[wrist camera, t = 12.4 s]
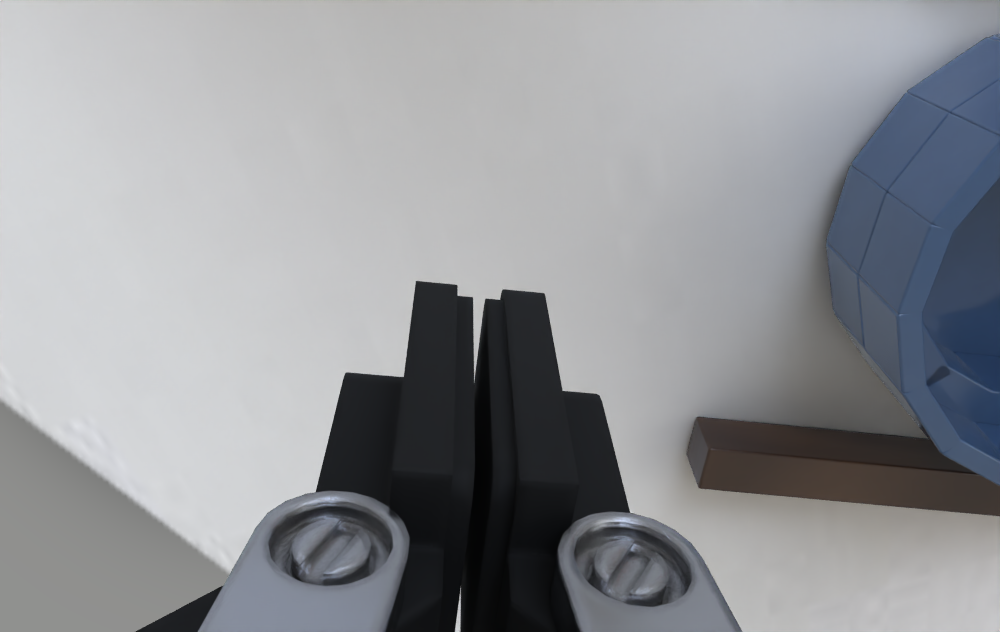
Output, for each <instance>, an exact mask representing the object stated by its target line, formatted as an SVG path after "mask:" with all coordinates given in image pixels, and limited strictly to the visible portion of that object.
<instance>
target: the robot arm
mask: <svg viewBox="0 0 1000 632" xmlns="http://www.w3.org/2000/svg"><path fill="white" fill-rule="evenodd" d="M460 588H461V632H742V630H741V628H740V626H739V625H738V623H737V621H736V619H735V617H734V615H733V614H732V612H731V610H730V608H729V606H728V604H727V602H726V601H725V599H724V597H723V595H722V593H721V591H720V589H719V588H718V586H717V584H716V582H715V580H714V578H713V577H712V575H711V573H710V571H709V569H708V567H707V565H706V564H705V562H704V560H703V558H702V557H701V556H700V554H699V553H698V552H697V550H696V549H695V548H694V546H693V545H692V544H691V543H690V542H689V541H688V540H687V539H685V538H684V537H683V536H682V535H680V534H679V533H678V532H677V531H675V530H674V529H672V528H670V527H668V526H666V525H664V524H662V523H660V522H658V521H656V520H654V519H651V518H648V517H644V516H641V515H637V514H634V513H630V511H629V507H628V503H627V499H626V495H625V491H624V487H623V483H622V479H621V475H620V471H619V467H618V463H617V459H616V455H615V451H614V447H613V443H612V439H611V435H610V432H609V428H608V424H607V420H606V416H605V412H604V408H603V404H602V401H601V398H600V396H599V395H597V394H591V393H580V392H568V391H562V386H561V380H560V375H559V369H558V364H557V358H556V353H555V347H554V342H553V336H552V331H551V325H550V320H549V314H548V309H547V303H546V298H545V294H544V293H536V292H525V291H515V290H504V289H503V290H502V293H501V298H500V300H494V299H486V300H485V304H484V311H483V318H482V326H481V334H480V342H479V350H478V358H477V366H476V374H475V382H474V343H473V297H463V296H457V285H452V284H441V283H431V282H421V281H416V285H415V293H414V301H413V309H412V317H411V325H410V333H409V341H408V349H407V357H406V365H405V373H404V377H394V376H382V375H371V374H359V373H345V376H344V379H343V383H342V387H341V391H340V395H339V399H338V403H337V407H336V411H335V415H334V420H333V424H332V428H331V432H330V436H329V440H328V444H327V448H326V452H325V456H324V460H323V465H322V469H321V473H320V477H319V481H318V485H317V489H316V492H315V493H308V494H304V495H302V496H299V497H296V498H293V499H290V500H287V501H285V502H284V503H282V504H281V505H279V506H277V507H276V508H274V509H273V510H271V511H270V512H268V513H267V515H266V516H265V517H264V518H263V519H262V521H261V522H260V523H259V524H258V525H257V527H256V528H255V530H254V532H253V534H252V535H251V537H250V539H249V541H248V543H247V544H246V546H245V548H244V550H243V551H242V553H241V555H240V557H239V559H238V560H237V562H236V564H235V566H234V568H233V569H232V571H231V573H230V575H229V577H228V578H227V580H226V582H225V584H224V585H223V586H221V587H219V588H217V589H216V590H214V591H212V592H210V593H208V594H206V595H204V596H202V597H200V598H198V599H197V600H195V601H193V602H191V603H189V604H187V605H185V606H183V607H181V608H180V609H178V610H176V611H174V612H172V613H170V614H168V615H166V616H164V617H162V618H161V619H159V620H157V621H155V622H153V623H151V624H149V625H147V626H146V627H143V628H142V629H140V630H138V631H136V632H455V625H456V618H457V610H458V603H459V595H460Z"/></svg>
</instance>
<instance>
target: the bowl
mask: <svg viewBox="0 0 1000 632" xmlns="http://www.w3.org/2000/svg"><path fill="white" fill-rule="evenodd" d="M826 241H827V244H826V248H827V257H828V267H829V276H830V286H831V295H832V304H833V310H834V313H835V315H836V317H837V318H838V320H839V321H840V323H841V324H842V326H843V327H844V329H845V331H846V332H847V334H848V335H849V337H850V338H851V340H852V341H853V343H854V344H855V346H856V347H857V349H858V350H859V352H860V353H861V355H862V356H863V358H864V359H865V361H866V362H867V364H868V365H869V366H870V367H871V369H872V370H873V371H874V372H875V374H876V375H877V376H878V377H879V378H880V380H881V381H882V382H883V383H884V385H885V386H886V387H887V388H888V389H889V391H890V392H891V393H892V394H893V396H894V397H895V398H896V399H897V401H898V402H899V403H900V404H901V405H902V407H903V408H904V409H905V410H906V412H907V413H908V414H909V415H910V417H911V418H912V419H913V420H914V421H915V423H916V424H917V425H918V426H919V428H920V429H921V430H922V431H923V432H924V434H925V435H926V436H927V437H928V439H929V440H930V441H931V442H932V444H933V445H934V446H935V447H936V448H937V450H938V451H939V452H941V453H942V455H944V456H946V457H947V458H949V459H951V460H953V461H955V462H957V463H958V464H960V465H962V466H964V467H966V468H968V469H969V470H971V471H973V472H975V473H977V474H979V475H980V476H982V477H984V478H986V479H988V480H990V481H991V482H993V483H995V484H997V485H999V486H1000V34H997V35H993V36H991V37H989V38H988V37H987V38H985V39H983V40H982V41H980V42H979V43H977V44H976V45H974V46H973V47H971V48H970V49H968V50H967V51H965V52H964V53H962V54H961V55H959V56H958V57H956V58H955V59H954V60H952V61H951V62H949V63H948V64H946V65H945V66H943V67H942V68H940V69H939V70H937V71H936V72H934V73H933V74H931V75H930V76H928V77H927V78H925V79H924V80H922V81H921V82H919V83H918V84H917V85H915V86H914V87H912V88H911V89H909V90H908V91H907V93H905V94H904V96H903V97H902V98H901V99H900V101H899V102H898V103H897V105H896V106H895V107H894V108H893V110H892V111H891V112H890V114H889V115H888V116H887V118H886V119H885V120H884V121H883V123H882V124H881V125H880V127H879V128H878V129H877V131H876V132H875V133H874V134H873V136H872V137H871V138H870V140H869V141H868V142H867V144H866V145H865V146H864V147H863V149H862V150H861V151H860V153H859V154H858V155H857V156H856V158H855V159H854V160H853V162H852V164H851V165H850V167H849V170H848V173H847V176H846V180H845V183H844V186H843V189H842V192H841V195H840V198H839V202H838V205H837V208H836V211H835V214H834V217H833V220H832V224H831V227H830V230H829V233H828V236H827V239H826Z"/></svg>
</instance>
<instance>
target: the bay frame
mask: <svg viewBox="0 0 1000 632" xmlns="http://www.w3.org/2000/svg"><path fill="white" fill-rule="evenodd" d="M687 457H688V460H689V463H690V465H691V468H692V471H693V474H694V477H695V479H696V482H697V485H698V487H699V488H701V489H711V490H722V491H732V492H743V493H754V494H765V495H776V496H787V497H798V498H808V499H819V500H830V501H841V502H852V503H863V504H873V505H884V506H895V507H906V508H917V509H928V510H939V511H949V512H960V513H971V514H982V515H993V516H1000V486H999V485H997V484H995V483H993V482H991V481H990V480H988V479H986V478H984V477H982V476H980V475H979V474H977V473H975V472H973V471H971V470H969V469H968V468H966V467H964V466H962V465H960V464H958V463H957V462H955V461H953V460H951V459H949V458H947V457H946V456H944V455H942V453H941V452H939V451H938V450H937V448H936V447H935V446H934V445H933V444H932V442H931V441H930V440H929V439H919V438H909V437H898V436H888V435H878V434H868V433H857V432H847V431H837V430H827V429H816V428H806V427H796V426H786V425H776V424H765V423H755V422H745V421H735V420H725V419H714V418H704V417H697V418H696V421H695V424H694V428H693V432H692V436H691V440H690V444H689V447H688V451H687Z"/></svg>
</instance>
